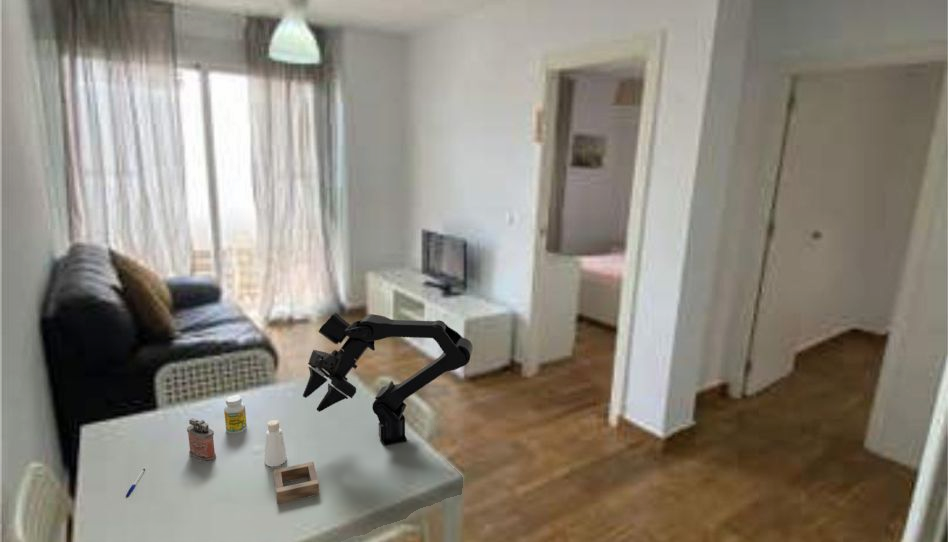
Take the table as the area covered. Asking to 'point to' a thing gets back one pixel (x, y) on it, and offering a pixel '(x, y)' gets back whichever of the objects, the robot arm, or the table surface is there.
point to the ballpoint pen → (135, 483)
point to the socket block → (298, 489)
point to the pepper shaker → (274, 445)
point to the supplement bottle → (235, 415)
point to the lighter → (201, 441)
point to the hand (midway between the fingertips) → (310, 403)
